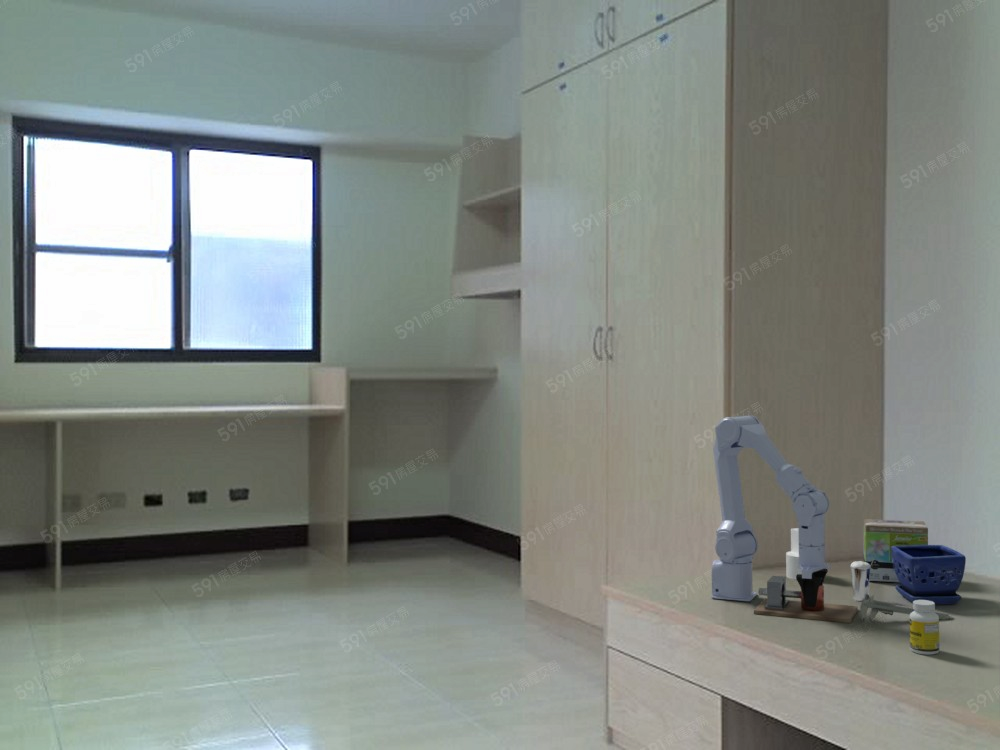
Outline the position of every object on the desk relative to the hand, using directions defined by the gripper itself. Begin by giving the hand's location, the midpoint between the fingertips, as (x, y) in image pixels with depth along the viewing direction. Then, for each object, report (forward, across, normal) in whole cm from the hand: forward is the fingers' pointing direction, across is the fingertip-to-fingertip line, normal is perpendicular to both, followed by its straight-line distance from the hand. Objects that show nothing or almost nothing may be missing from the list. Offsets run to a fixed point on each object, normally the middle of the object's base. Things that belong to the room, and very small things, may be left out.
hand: (812, 603), depth 233 cm
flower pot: (+2, +21, -23) cm, 31 cm away
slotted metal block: (+1, 0, +8) cm, 8 cm away
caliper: (+2, +1, -20) cm, 20 cm away
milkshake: (+2, +16, -9) cm, 18 cm away
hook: (+1, 0, +5) cm, 5 cm away
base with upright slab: (+2, +36, +8) cm, 37 cm away
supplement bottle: (+2, -22, -25) cm, 33 cm away
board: (+2, 0, +2) cm, 2 cm away
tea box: (+2, +41, -14) cm, 43 cm away
